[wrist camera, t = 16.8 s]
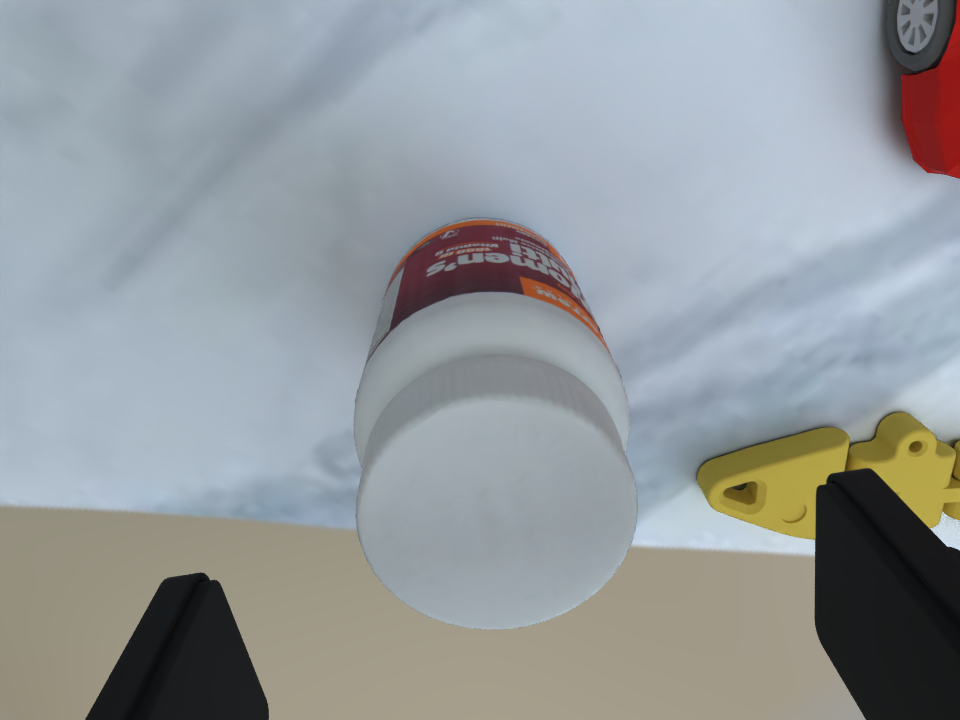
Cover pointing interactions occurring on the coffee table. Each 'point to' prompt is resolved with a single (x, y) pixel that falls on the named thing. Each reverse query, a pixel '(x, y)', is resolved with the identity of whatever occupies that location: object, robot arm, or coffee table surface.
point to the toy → (816, 454)
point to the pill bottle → (491, 433)
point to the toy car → (929, 79)
